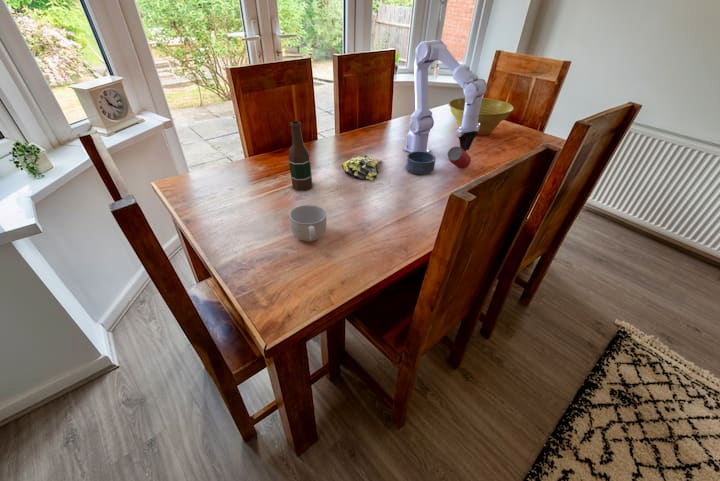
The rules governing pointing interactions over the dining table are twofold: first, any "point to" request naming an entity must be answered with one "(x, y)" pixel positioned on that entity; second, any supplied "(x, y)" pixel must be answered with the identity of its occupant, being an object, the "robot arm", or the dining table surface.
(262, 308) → the dining table surface
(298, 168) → the beer bottle
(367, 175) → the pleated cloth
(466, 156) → the beer can
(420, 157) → the bowl
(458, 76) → the robot arm
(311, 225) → the teacup
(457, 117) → the planter bowl
